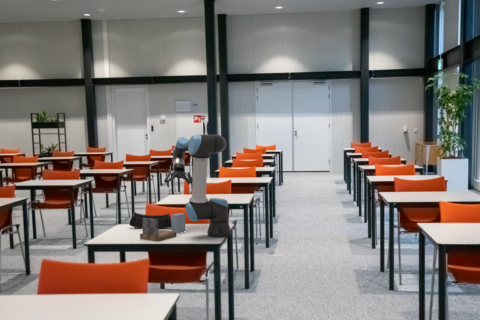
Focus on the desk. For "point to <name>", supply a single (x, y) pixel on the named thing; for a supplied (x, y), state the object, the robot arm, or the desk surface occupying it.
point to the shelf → (154, 231)
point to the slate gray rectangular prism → (178, 222)
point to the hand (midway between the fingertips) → (180, 191)
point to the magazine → (163, 220)
